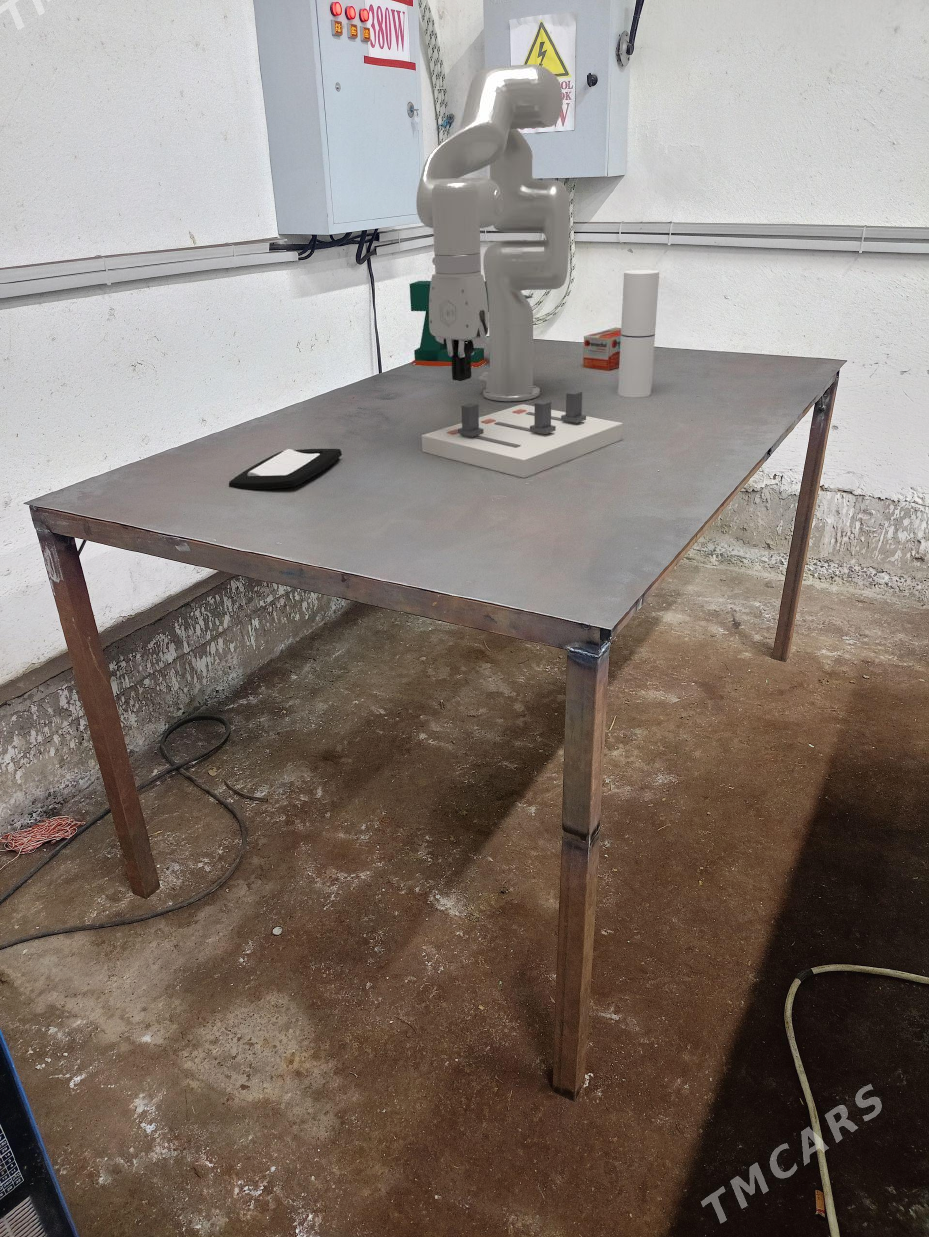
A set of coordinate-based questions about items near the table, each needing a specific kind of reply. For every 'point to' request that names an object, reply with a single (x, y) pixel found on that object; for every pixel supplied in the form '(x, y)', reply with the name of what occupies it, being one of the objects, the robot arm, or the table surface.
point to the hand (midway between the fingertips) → (461, 378)
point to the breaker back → (573, 407)
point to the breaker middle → (542, 418)
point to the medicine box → (602, 349)
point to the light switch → (285, 469)
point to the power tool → (429, 346)
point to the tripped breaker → (470, 420)
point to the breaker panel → (522, 441)
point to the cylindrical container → (638, 332)
